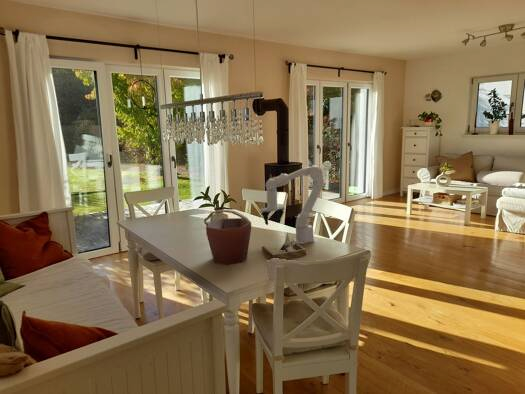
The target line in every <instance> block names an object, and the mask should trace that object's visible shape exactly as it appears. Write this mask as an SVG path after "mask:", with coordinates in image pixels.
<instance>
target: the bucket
mask: <svg viewBox="0 0 525 394" xmlns="http://www.w3.org/2000/svg"><path fill="white" fill-rule="evenodd" d="M217 213H218V214H219V213H229V214H234V216H235V215H236V216H237V217H238V218H236V217H234V218H233V217H232V218H231V217H230V218H227V217H226V218H225V217H224V218H220V219H219V218H218V219H216V220H212V221H208V220H209V219H210V218H212V216H214V215H215V214H217ZM203 223H204V224H205V226H206V227H205V232H206V236H207V242H208V245H209V248H210V252H211V256H212V258H213V262H214V264H219V265H224V266H229V265H236V264H237V265H238V264H242V263H243V262H244V261H245V260H246V259H248V252H249V246H250V239H251V234H252V233H251V232H252V221H251V220H250V219H249V218H248V216H245V215H244V214H242V213H241V212H238V211H236V210H231V209H220V210H215V211H211V212H210V213H209V214H208V215H207V217H205V218H204V219H203Z"/></svg>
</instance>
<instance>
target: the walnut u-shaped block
mask: <svg viewBox="0 0 525 394" xmlns="http://www.w3.org/2000/svg"><path fill="white" fill-rule="evenodd" d="M290 243H291V244H293V243H295V241H293V240H292V241H290ZM291 244H290V245H291ZM293 248H294V251H289V250H288V251H285V252H284V251H283V252H279V253H273V252H272V251H271V250H270V249H268V248H267V247H265V246H264V245H262V246H261V252H262V253H263V255H265V256H266V257H268V258H269V259H271V258H279V259H281V260H286V259H290V257H291V258H296V257H295V256H297V257H300V255H302V256H306V255H307V252H306V251H307V249H306V248H304V247H303V246H301V244H299V243H297V244H296V245H294V246H293ZM305 254H306V255H305ZM285 258H286V259H285Z"/></svg>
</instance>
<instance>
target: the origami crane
mask: <svg viewBox="0 0 525 394" xmlns="http://www.w3.org/2000/svg"><path fill="white" fill-rule="evenodd" d="M284 240H285V241H284V243H283V244H282V246H281V247H280V249H279V251H281V253H284V251H285V252H289V251H294V250H295V249H294V248H293V246H294V245H296V244H299V243H298V241H297V242H295V241H294V243H293V244H291V241H290V237H289V233H288V232H287V233H286V237H285V239H284Z"/></svg>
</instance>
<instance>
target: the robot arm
mask: <svg viewBox="0 0 525 394" xmlns="http://www.w3.org/2000/svg"><path fill="white" fill-rule="evenodd" d="M302 176H304V177H310V178H311V179H312V181H313V183H314V185H313V188H312V189H311V190H310V194H309V196H308V198H307V200H306V201H305V204H304V206H303V208H302V210H301V211H300V212H299V214H298V215H297V217H296V220H295V239H292V241H293V242H294V243H295V242H297V241H298V243H297V244H298V245H303V244H308V243H313V242H315V240H314V228H313V226H312V225H311V224H308V221H309V217H310V214H311V212H312V210H313V208H314V206H315V203H316V201H317V199H318V198H319V195H320V193H322V192H321V191H322V189H323V188H324V185H325V181H324V175H323V170H322V168H321V167H320V166H319V165H318V164H313V165H311V166H310V165H309V166H305V167H302V168H301V169H298V170H296V171H293V172H291V173H289V174H287V173H280V175H278V176H272V178H269V179H268V180H267V181H266V182H265V188H266V207H264V208H260V209H259V213H260V214H261V216H262V217H263V220H264V223H265V224H264V225H266V226H269V213H271V212H276V217H277V223H278V224H281V221H282V217H283V215H284V213H285V209H286V207H285V205H279V206H278V193H277V192H278V191H277V188H280V187H282V186H285V185H287V184H289V183H290V181H291V180H294V179H296V178H300V177H302Z"/></svg>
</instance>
